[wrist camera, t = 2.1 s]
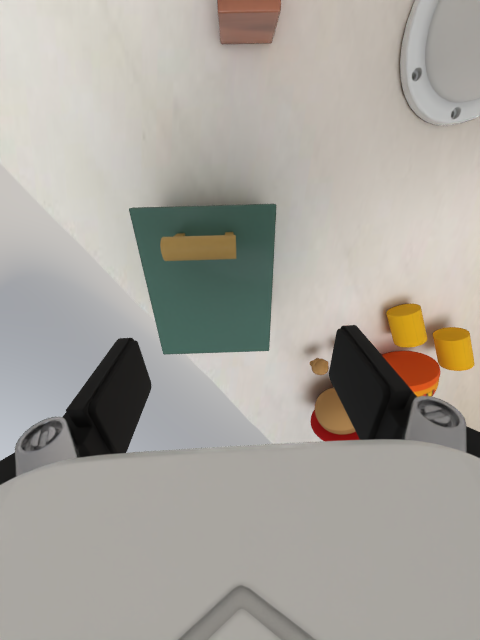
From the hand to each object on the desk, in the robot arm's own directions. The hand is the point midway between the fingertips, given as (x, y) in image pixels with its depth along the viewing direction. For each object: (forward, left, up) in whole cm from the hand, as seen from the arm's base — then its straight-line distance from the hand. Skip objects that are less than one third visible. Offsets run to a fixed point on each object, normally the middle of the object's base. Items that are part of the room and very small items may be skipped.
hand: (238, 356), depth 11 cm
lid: (+2, -2, -13) cm, 13 cm away
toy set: (+19, +22, -22) cm, 36 cm away
